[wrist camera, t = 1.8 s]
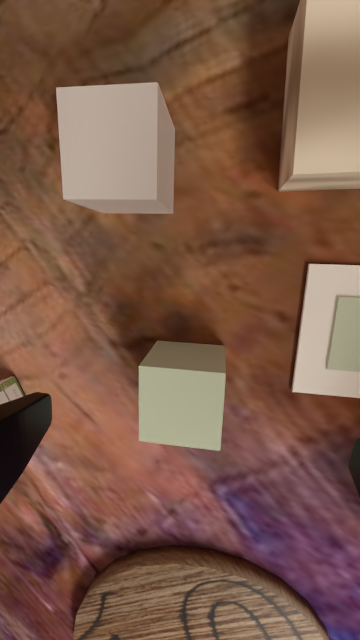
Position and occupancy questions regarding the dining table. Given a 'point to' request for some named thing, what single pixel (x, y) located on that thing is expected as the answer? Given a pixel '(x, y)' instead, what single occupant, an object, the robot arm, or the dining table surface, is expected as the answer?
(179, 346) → the sage block
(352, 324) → the card
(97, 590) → the trivet
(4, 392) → the syrup box
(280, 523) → the dining table surface
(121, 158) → the grey block
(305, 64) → the birch base block
